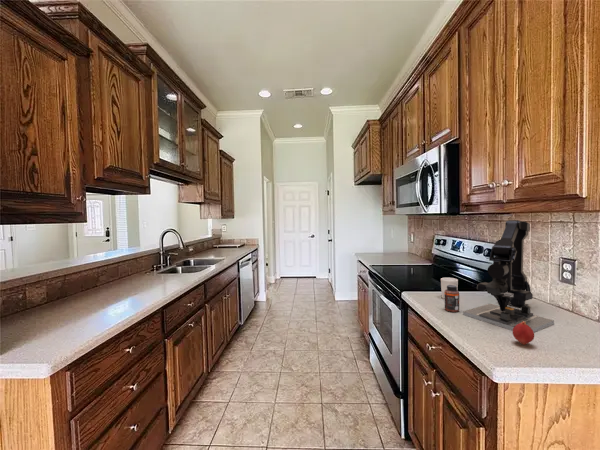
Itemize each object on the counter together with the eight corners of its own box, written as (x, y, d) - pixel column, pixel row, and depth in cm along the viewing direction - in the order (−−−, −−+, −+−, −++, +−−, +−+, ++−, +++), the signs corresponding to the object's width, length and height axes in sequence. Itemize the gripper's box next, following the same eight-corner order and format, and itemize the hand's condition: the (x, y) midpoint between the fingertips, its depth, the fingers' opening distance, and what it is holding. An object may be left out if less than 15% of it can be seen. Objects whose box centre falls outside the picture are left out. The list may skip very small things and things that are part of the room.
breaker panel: (490, 306, 133) (490, 296, 133) (554, 324, 112) (554, 311, 112) (463, 314, 124) (463, 303, 124) (526, 335, 103) (527, 321, 103)
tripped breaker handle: (507, 312, 118) (507, 306, 118) (514, 314, 116) (514, 308, 116) (505, 313, 118) (505, 307, 117) (511, 315, 115) (511, 309, 115)
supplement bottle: (461, 312, 127) (461, 287, 126) (446, 312, 128) (446, 287, 127) (456, 308, 133) (456, 284, 132) (442, 307, 134) (442, 284, 133)
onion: (508, 341, 99) (508, 318, 99) (523, 339, 99) (523, 317, 99) (522, 349, 93) (522, 324, 93) (538, 347, 94) (539, 323, 93)
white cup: (442, 295, 153) (442, 276, 153) (458, 297, 149) (458, 278, 148) (439, 299, 147) (439, 279, 146) (456, 301, 142) (456, 281, 142)
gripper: (469, 272, 123) (469, 308, 124) (517, 281, 107) (517, 322, 107) (484, 269, 128) (484, 303, 129) (533, 277, 111) (533, 316, 112)
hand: (502, 311), depth 119 cm, fingers closed
